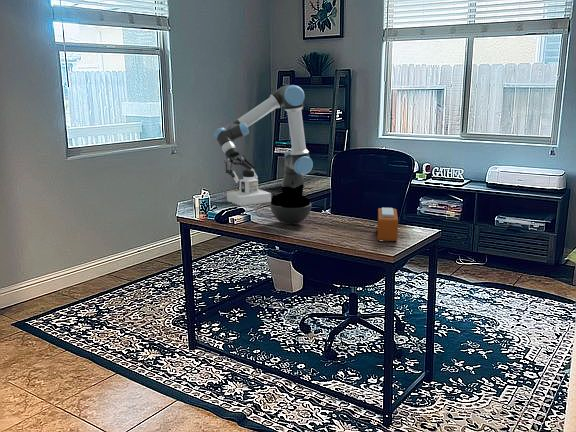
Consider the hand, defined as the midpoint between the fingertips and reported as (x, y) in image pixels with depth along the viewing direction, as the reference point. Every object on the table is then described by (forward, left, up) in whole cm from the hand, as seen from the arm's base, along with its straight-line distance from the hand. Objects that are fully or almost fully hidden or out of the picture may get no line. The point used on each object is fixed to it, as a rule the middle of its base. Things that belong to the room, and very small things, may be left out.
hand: (247, 180), depth 320 cm
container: (-1, +1, -7) cm, 7 cm away
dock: (0, +1, -12) cm, 12 cm away
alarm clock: (-19, +96, -12) cm, 99 cm away
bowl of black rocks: (+7, +56, -12) cm, 58 cm away
